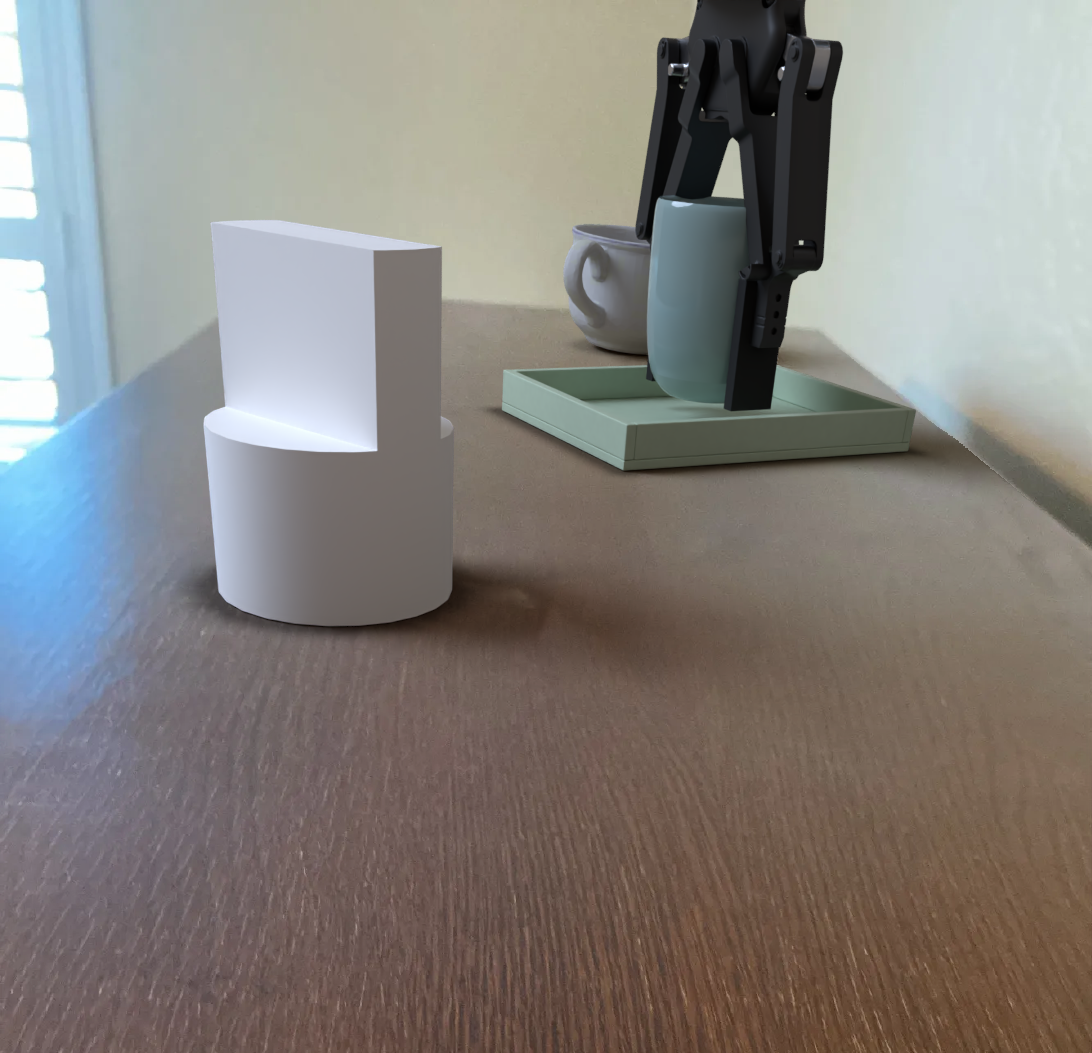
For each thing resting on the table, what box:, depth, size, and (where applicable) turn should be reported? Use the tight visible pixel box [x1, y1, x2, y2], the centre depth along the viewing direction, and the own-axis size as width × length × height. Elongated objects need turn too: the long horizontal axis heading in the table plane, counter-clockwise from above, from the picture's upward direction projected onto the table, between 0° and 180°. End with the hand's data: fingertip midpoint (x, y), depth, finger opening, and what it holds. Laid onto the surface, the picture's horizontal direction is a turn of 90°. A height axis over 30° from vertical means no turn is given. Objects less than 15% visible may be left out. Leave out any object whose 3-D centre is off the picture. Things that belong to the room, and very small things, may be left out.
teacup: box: [562, 223, 651, 356], centre depth 98 cm, size 14×11×8 cm
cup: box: [647, 195, 772, 404], centre depth 74 cm, size 8×8×10 cm
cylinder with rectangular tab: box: [203, 219, 455, 627], centre depth 47 cm, size 9×9×12 cm
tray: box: [501, 364, 917, 472], centre depth 77 cm, size 19×15×2 cm
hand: (705, 393), depth 77 cm, fingers closed on cup, 8 cm apart
